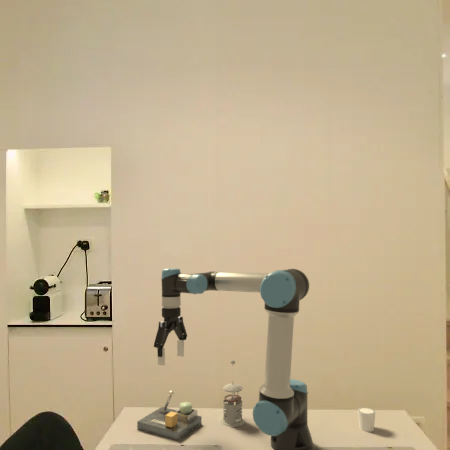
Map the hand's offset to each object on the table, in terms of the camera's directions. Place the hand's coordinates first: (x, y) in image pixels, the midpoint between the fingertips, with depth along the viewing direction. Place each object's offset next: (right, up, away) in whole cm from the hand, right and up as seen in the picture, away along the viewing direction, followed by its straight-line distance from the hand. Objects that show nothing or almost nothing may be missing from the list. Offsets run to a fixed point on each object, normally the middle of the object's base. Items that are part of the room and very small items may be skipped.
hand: (171, 360), depth 161 cm
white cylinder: (+78, -27, -1) cm, 83 cm away
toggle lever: (-4, -24, +7) cm, 25 cm away
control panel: (-1, -27, +1) cm, 27 cm away
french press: (+25, -27, +6) cm, 38 cm away
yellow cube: (+1, -23, -5) cm, 24 cm away
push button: (+6, -22, +2) cm, 22 cm away
